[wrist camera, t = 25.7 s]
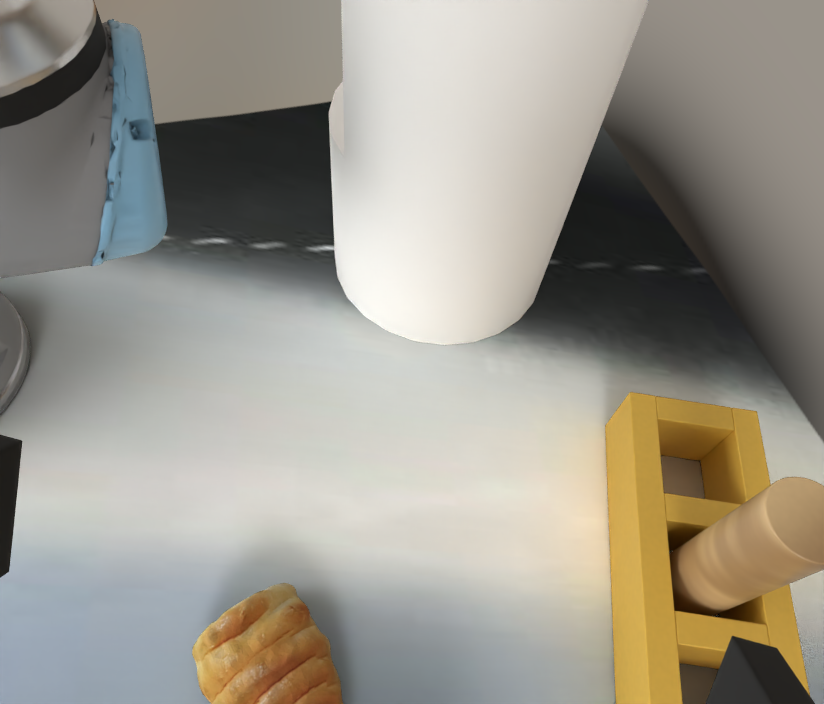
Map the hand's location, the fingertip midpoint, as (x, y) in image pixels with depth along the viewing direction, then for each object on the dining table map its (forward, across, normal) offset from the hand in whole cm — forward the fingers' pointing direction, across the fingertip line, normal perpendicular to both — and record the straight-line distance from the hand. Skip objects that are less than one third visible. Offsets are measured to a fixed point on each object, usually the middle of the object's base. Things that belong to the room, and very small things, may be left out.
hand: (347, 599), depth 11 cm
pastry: (+21, -5, -20) cm, 29 cm away
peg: (+28, +18, -12) cm, 35 cm away
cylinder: (+44, -3, +3) cm, 44 cm away
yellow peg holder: (+28, +18, -12) cm, 35 cm away
